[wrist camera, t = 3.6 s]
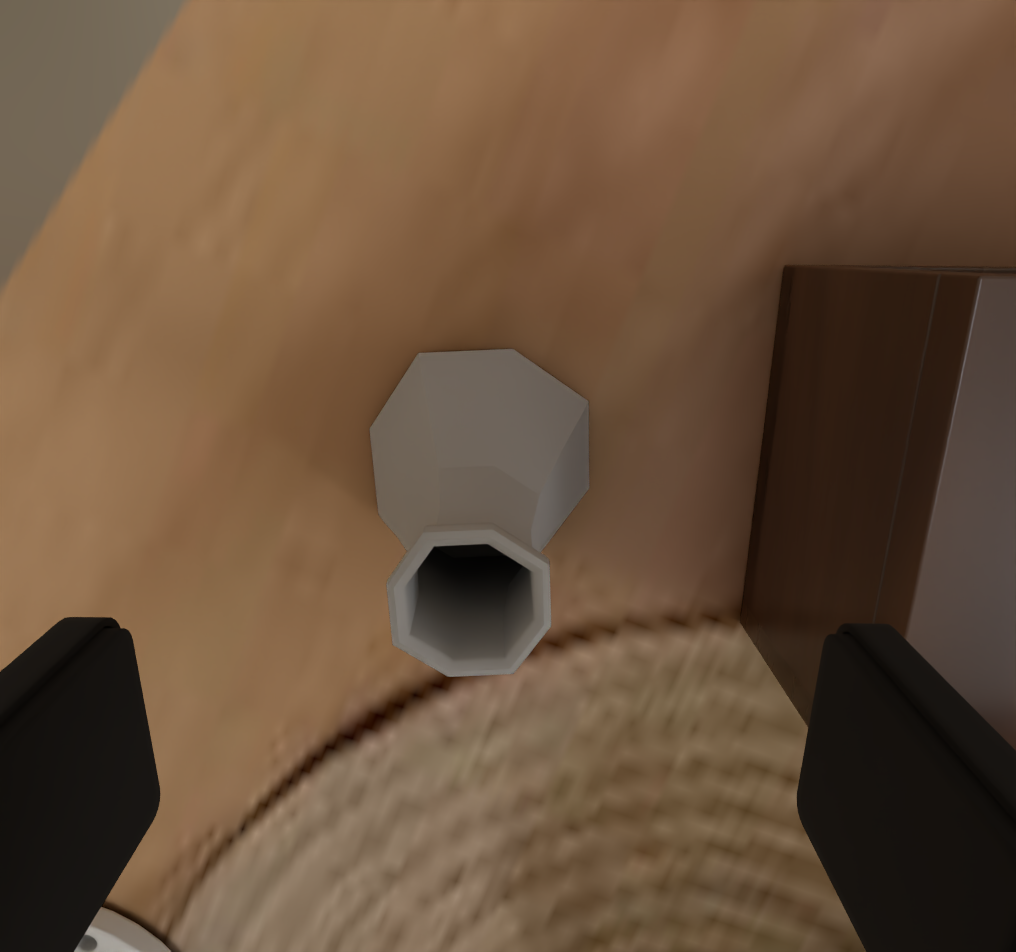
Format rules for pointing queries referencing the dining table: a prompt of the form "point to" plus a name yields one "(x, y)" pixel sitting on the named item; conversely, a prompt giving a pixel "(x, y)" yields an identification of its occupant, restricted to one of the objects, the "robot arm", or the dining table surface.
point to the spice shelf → (890, 475)
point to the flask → (476, 503)
